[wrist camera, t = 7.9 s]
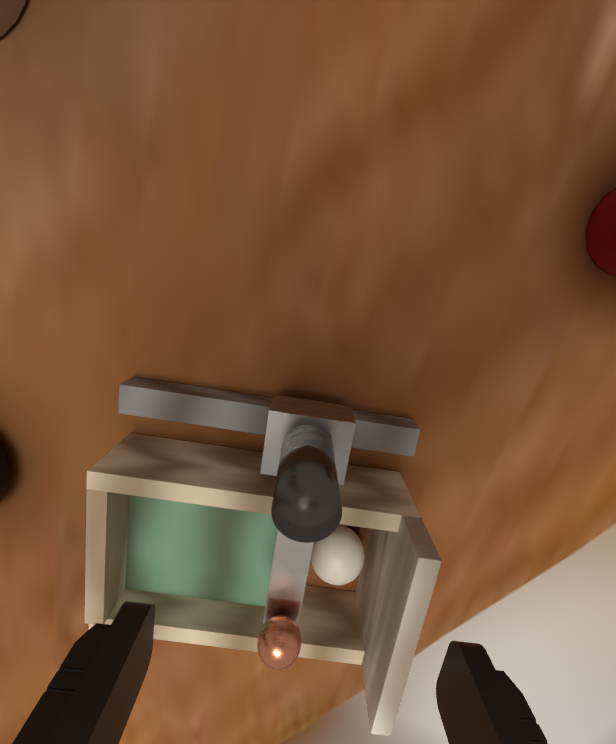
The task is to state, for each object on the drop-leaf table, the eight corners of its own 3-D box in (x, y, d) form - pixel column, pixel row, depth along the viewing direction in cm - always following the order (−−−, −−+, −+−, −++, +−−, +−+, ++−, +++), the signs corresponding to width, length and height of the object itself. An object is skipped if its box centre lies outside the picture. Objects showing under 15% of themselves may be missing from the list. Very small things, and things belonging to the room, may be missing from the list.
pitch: (124, 573, 30) (48, 695, 21) (133, 376, 26) (44, 425, 17) (367, 605, 30) (390, 735, 22) (412, 418, 26) (463, 486, 18)
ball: (352, 558, 30) (303, 554, 29) (362, 515, 29) (312, 511, 28) (364, 600, 26) (308, 597, 25) (375, 552, 25) (317, 548, 24)
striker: (249, 562, 27) (221, 699, 18) (273, 394, 24) (253, 461, 15) (317, 571, 27) (321, 711, 18) (350, 406, 24) (374, 478, 15)
